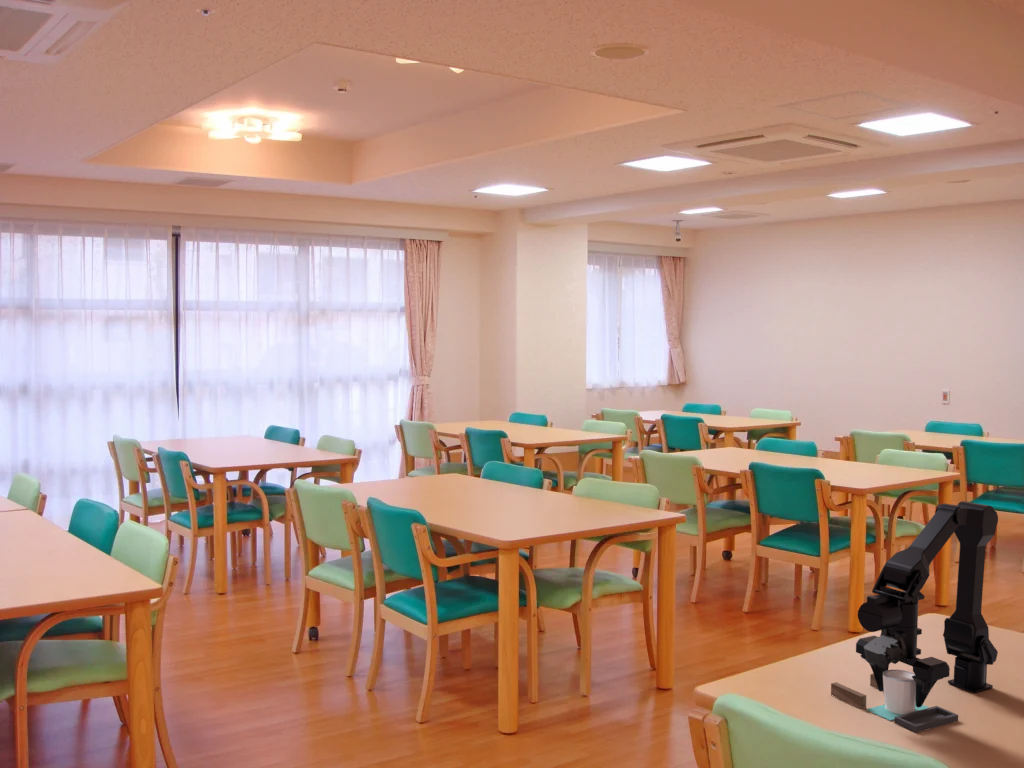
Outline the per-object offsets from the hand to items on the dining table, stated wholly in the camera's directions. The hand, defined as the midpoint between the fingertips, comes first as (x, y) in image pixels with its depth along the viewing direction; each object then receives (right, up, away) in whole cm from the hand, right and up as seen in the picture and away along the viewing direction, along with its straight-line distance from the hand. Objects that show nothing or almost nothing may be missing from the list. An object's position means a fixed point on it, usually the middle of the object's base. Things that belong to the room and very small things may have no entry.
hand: (899, 698), depth 197 cm
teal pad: (0, -2, 0) cm, 2 cm away
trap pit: (+3, -3, -6) cm, 7 cm away
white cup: (0, -2, 0) cm, 2 cm away
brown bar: (-4, -2, +7) cm, 8 cm away
